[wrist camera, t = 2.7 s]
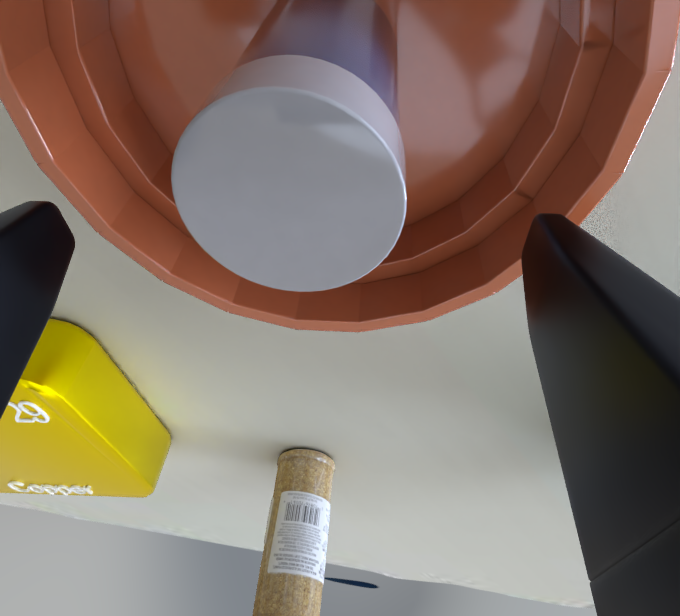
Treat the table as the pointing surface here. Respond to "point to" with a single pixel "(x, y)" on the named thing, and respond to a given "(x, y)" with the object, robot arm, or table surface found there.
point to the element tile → (78, 424)
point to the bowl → (415, 127)
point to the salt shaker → (300, 150)
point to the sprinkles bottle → (296, 536)
